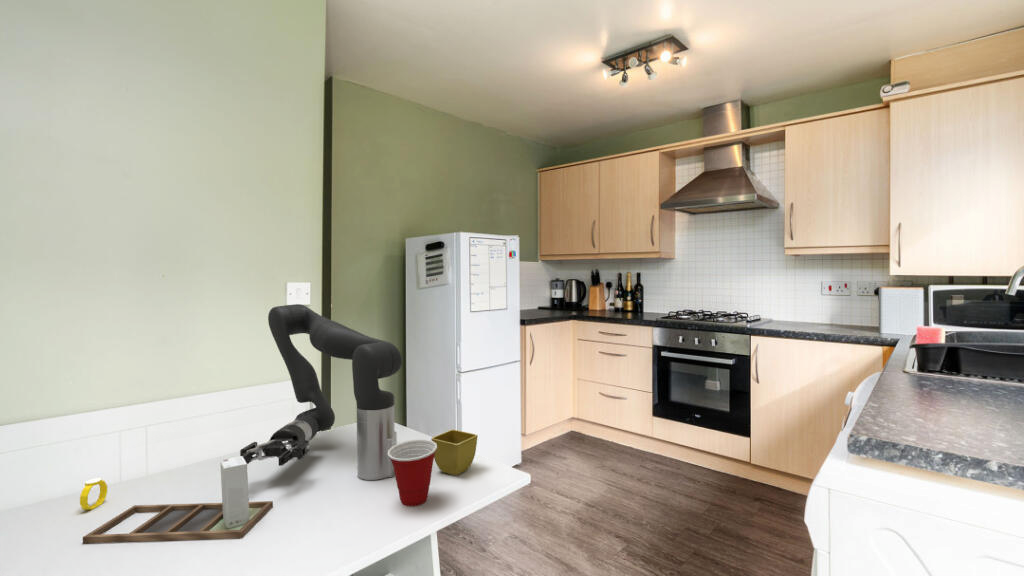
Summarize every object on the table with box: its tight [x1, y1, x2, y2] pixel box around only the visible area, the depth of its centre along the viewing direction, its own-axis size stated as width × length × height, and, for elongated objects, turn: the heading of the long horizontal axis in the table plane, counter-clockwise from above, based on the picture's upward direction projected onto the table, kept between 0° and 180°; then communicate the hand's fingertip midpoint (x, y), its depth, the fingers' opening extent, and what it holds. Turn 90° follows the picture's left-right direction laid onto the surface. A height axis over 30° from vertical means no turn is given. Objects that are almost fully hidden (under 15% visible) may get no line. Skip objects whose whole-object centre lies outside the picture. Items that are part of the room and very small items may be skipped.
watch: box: [79, 477, 108, 511], centre depth 102 cm, size 6×3×6 cm, turn 7°
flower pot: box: [430, 429, 478, 476], centre depth 119 cm, size 9×9×9 cm
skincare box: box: [220, 455, 250, 529], centre depth 95 cm, size 6×4×12 cm
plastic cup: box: [388, 438, 437, 507], centre depth 103 cm, size 11×11×12 cm
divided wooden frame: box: [82, 500, 274, 545], centre depth 94 cm, size 29×13×1 cm, turn 92°
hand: (260, 462), depth 104 cm, fingers open, 8 cm apart
